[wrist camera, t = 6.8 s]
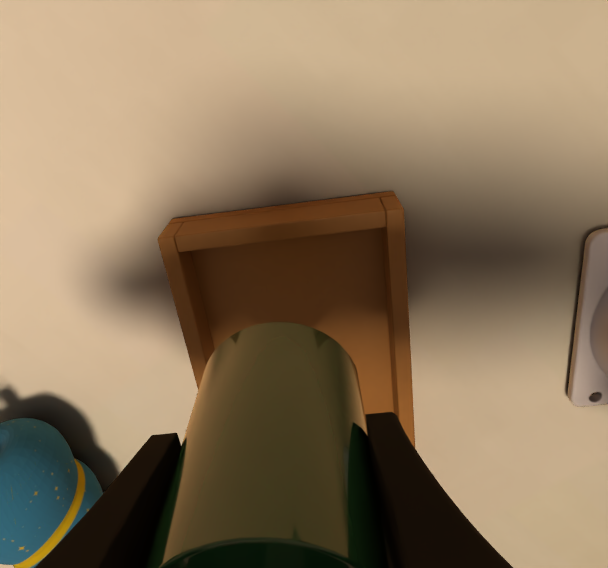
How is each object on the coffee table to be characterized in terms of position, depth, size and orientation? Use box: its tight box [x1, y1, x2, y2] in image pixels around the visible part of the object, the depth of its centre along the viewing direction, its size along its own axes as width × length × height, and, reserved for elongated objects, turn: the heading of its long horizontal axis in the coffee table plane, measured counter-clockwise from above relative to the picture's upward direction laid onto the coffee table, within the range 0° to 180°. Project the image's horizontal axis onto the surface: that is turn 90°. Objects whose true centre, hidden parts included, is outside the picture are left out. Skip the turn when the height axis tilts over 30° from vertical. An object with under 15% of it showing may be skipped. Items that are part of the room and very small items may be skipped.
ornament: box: [0, 418, 103, 568], centre depth 23 cm, size 5×5×15 cm
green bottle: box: [144, 322, 389, 568], centre depth 10 cm, size 4×4×10 cm
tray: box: [158, 191, 415, 448], centre depth 22 cm, size 8×23×2 cm, turn 7°
